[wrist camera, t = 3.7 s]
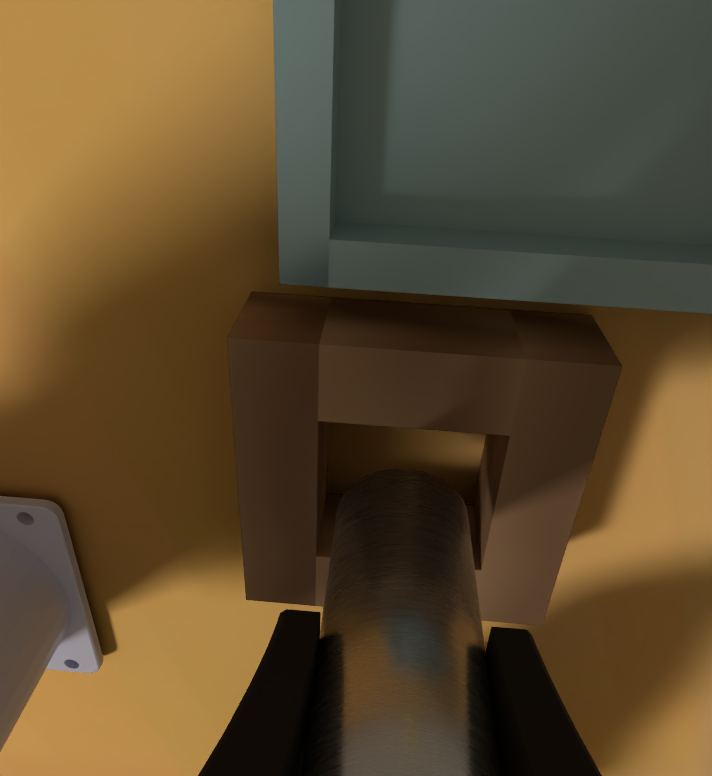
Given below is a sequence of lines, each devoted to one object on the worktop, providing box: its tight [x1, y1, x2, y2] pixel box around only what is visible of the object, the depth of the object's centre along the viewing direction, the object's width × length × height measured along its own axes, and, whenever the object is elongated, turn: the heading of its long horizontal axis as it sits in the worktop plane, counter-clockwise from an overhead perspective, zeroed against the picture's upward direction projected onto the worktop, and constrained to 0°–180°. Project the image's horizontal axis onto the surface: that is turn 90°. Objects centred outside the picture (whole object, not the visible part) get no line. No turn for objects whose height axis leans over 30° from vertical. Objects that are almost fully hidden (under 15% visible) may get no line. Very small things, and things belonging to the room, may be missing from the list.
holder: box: [227, 292, 622, 626], centre depth 16 cm, size 8×8×2 cm
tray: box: [273, 0, 712, 314], centre depth 11 cm, size 11×8×2 cm
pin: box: [301, 469, 501, 776], centre depth 10 cm, size 3×3×9 cm
